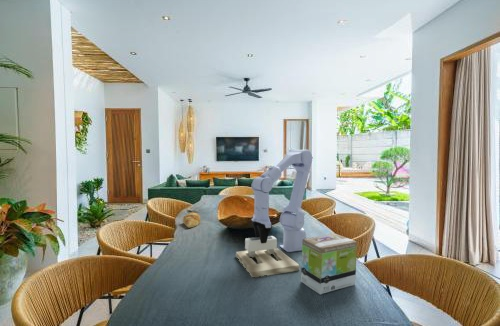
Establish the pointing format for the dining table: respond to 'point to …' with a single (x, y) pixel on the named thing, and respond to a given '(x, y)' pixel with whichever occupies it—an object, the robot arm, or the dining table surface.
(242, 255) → the keyhole board
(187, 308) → the dining table surface
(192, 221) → the croissant
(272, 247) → the white and grey block
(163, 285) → the dining table surface
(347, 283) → the tea box
